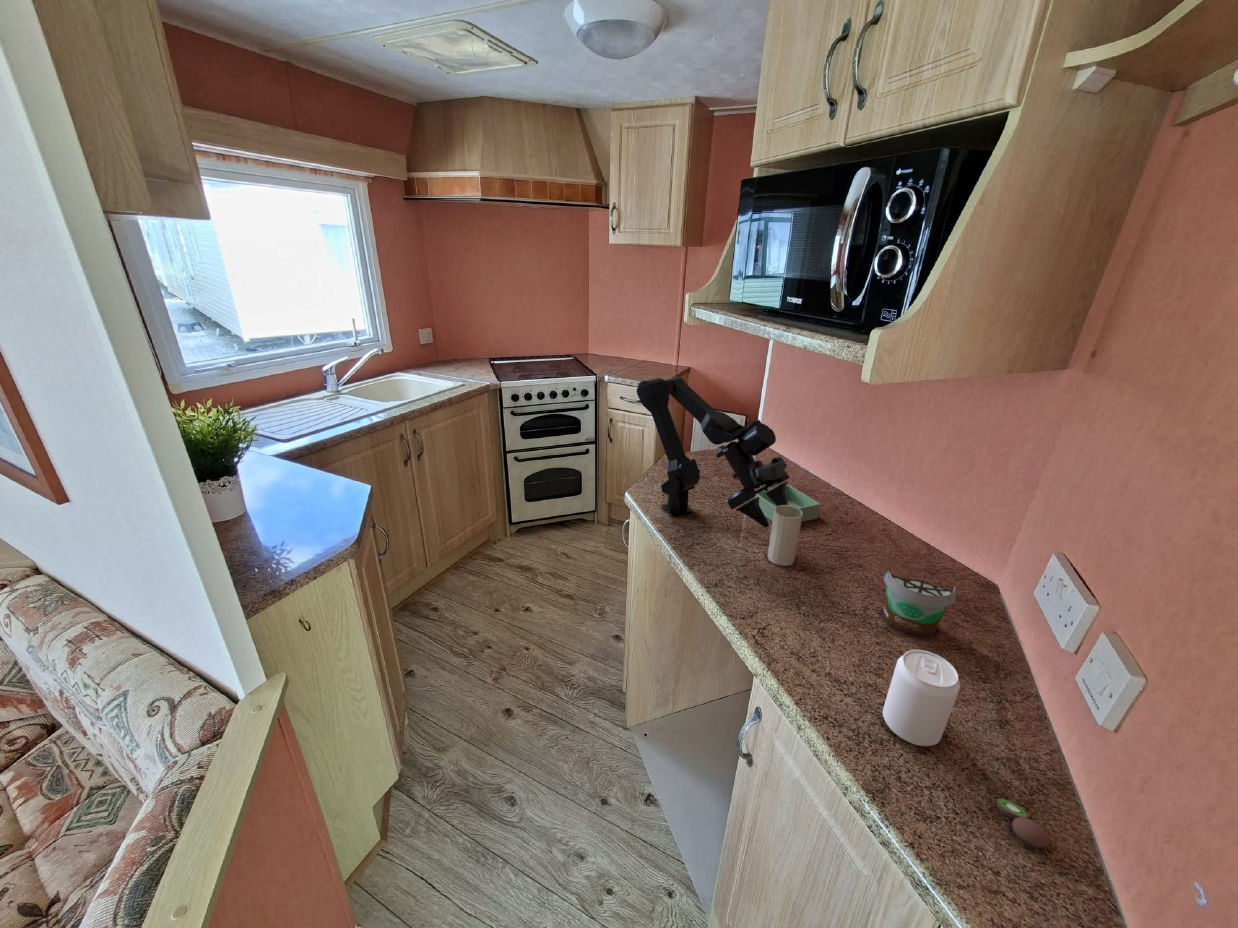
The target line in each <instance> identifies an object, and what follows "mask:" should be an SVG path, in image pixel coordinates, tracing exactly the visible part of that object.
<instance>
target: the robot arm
mask: <svg viewBox="0 0 1238 928" xmlns="http://www.w3.org/2000/svg"><path fill="white" fill-rule="evenodd" d="M636 395H637V398H638V399H639V401H640V403H641V405H642V406H643V407H644V409H646V410H647V411H648V412H649V413H650V414H651V416H652V420H653V423H654V426H655V427H656V430H657V434H658V436H659V439H660V441H661V444H662V447H663V449H664V452H665V455H666V459H667V461H668V462H667V463H668V464H667V471H666V473H667V474H666V475H667V478H668V479H667V480H666V481H665V482H663V483H661V484H660V487H661V492H662V493H663V494H665V495H667V503H665V504H662V508H663V509H664V510H665V511H666V513H668V514H669V515H670V516H671V517H676V516H682V515H686V514H691V513H692V512H693V510H692V509H691V508H690V507H689V491H691V490H693V489H695V487H696V485H698V484H699V481H700V479H701V475H700V473H701V470H700V469H699V467H698V463H697V460H696V459H695V458H692V459H691V458H689V457H688V456H687V455H686V453H685V450H684V447H683V444H682V442H681V438H680V436H679V434H678V430H677V428H676V426H675V422H674V419H673V417H672V415H671V411H670V408H669V402H670V396H671V397H672V398H673V399H674V400H675V401H676V402H678V403H679V405H681V406H682V407H683V408H684V410H686V411H687V412H688V413H689V414H690V415H691V416H692V417H693V418H694V419H695V420H696V421H697V422H698V423H699V425H700V427H701V431H702V433H703V435H705V437H706V438H707V439H708V441H709V442H710V443H711V444H712V445H715V446H716V445H717V446H718V445H720V446H718V447H717V453H716V455H715V456H716V458H717V459H719V458H722V457H724V458H725V459H726V461H727V462H728V464H729V466H730V468H731V469H732V471H733V472H734V473H733V474H732V478H733V479H734V480H735V479H738V481H739V482H740V485H741V486H742V487H743V488H742V489H740V490H739V491H738V492H736V493H734V494H733V495H731V496H730V497H729V496H728V498H727V505H728V506H729V508H730V510H731V511H733V510H734V509H735V511H736V512H740V513H742V514H743V515H745V516H747V517H749V518H750V519H752V520H754V521H755V522H756V523H758V524H759V525H760V526H762V527H763V528H764V529H765V528H766V529H767V528H768V527H770V524H769V522H768V518H767V517H765V515H764V513H763V512H762V510H761V508H760V506H759V497H757V498H755V496H756V494H758V493H759V492H761V491H763V490H766V491H769V492H767V493H765V494H766V495H767V496H768V497H769V498H770V499H771V500H772V501H773V502H774V503H775V504H776V505H777V506H780V505H788V503H787V499H786V494H785V488H786V485H788V484H789V479H790V476H789V474H788V473H787V471H786V468H788V464H787V463H786V462H785V460H784V459H783V458H782V456H776V457H774V458H772V459H771V462H769V463H765V464H764V463H763V462H762V461H761V460H760V459H758V460H756V459H755V458H754V456H758V455H760V454H761V453H762V452H764V451H765V450H767V449H769V448H770V447H771V446H773V445H774V444H775V443H776V441H777V438H776V437H777V436H776V434H775V432H774V430H773V429H772V428H770V426H769V425H767V424H765V423H762V422H761V420H760V419H756V420H754V421H752V422H750V424H749V426H747V427H746V426H745V425H742V424H741V423H739V422H738V421H736V419H734V418H733V417H731V416H730V415H728V414H726V413H724V412H722V411H719V410H716V409H715V408H714V407H712V406H711V405H710V404H709V403H708V402H706V401H705V399H703V397H702V396H701V395H699V394H698V393H697V392H696V391H695V390H694V389H693V388H692V387H690V386H689V384H688V383H686V381H685V379H684V378H682V377H680V376H676V377H672V378H668V379H663V378H661V377H654V378H650V379H645V380H641V381H639V382H638V384H637V388H636ZM736 440H737V441H736ZM724 443H727V444H726V445H725V444H724Z"/></svg>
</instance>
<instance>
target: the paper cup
mask: <svg viewBox="0 0 1238 928" xmlns="http://www.w3.org/2000/svg"><path fill="white" fill-rule="evenodd" d="M802 514H803V512H802V511H801V510H800V509H798V508H796V507H794V506H789V505H780V506H777V507H775V510H774V516H773V522H772V524H771V529H770V537H769V543H768V550H767V559H768V560H769V561H770V562H771V563H772V564H774V565H777V566H781V567H788V566H792V565H793V564H794V563H795V560H796V554H797V548H798V547H797V546H798V542H799V537H800V531H801V526H802V525H801V524H802V522H801V520H802Z"/></svg>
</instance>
